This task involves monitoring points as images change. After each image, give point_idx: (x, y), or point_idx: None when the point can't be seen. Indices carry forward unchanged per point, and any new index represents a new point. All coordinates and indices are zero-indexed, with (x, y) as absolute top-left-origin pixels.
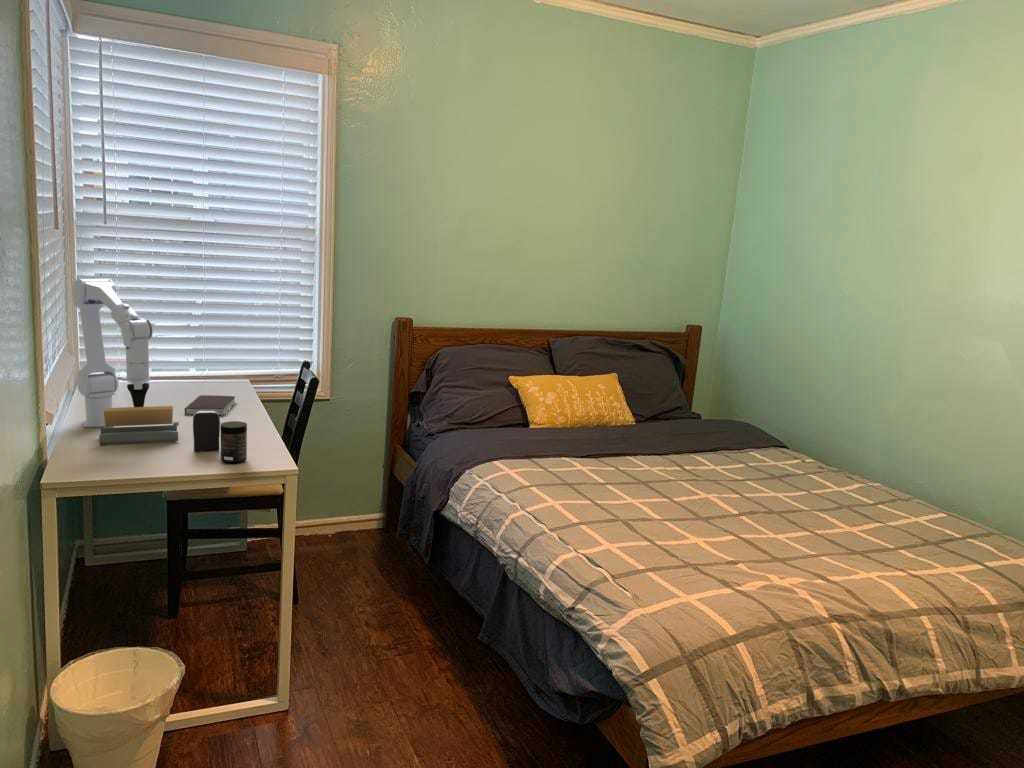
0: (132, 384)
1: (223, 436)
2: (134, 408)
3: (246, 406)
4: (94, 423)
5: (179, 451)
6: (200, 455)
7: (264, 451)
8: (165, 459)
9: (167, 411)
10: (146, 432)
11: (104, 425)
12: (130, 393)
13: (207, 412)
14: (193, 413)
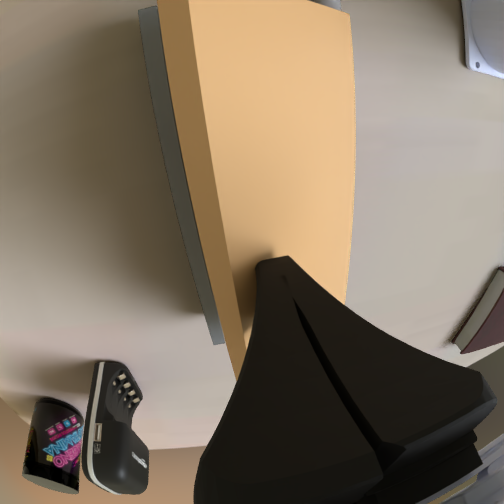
0: (447, 442)
1: (25, 453)
2: (221, 277)
3: (485, 350)
4: (475, 5)
5: (95, 331)
6: (75, 370)
7: (142, 439)
8: (13, 307)
9: None
10: (199, 242)
11: (467, 36)
12: (234, 399)
13: (103, 489)
14: (492, 286)
